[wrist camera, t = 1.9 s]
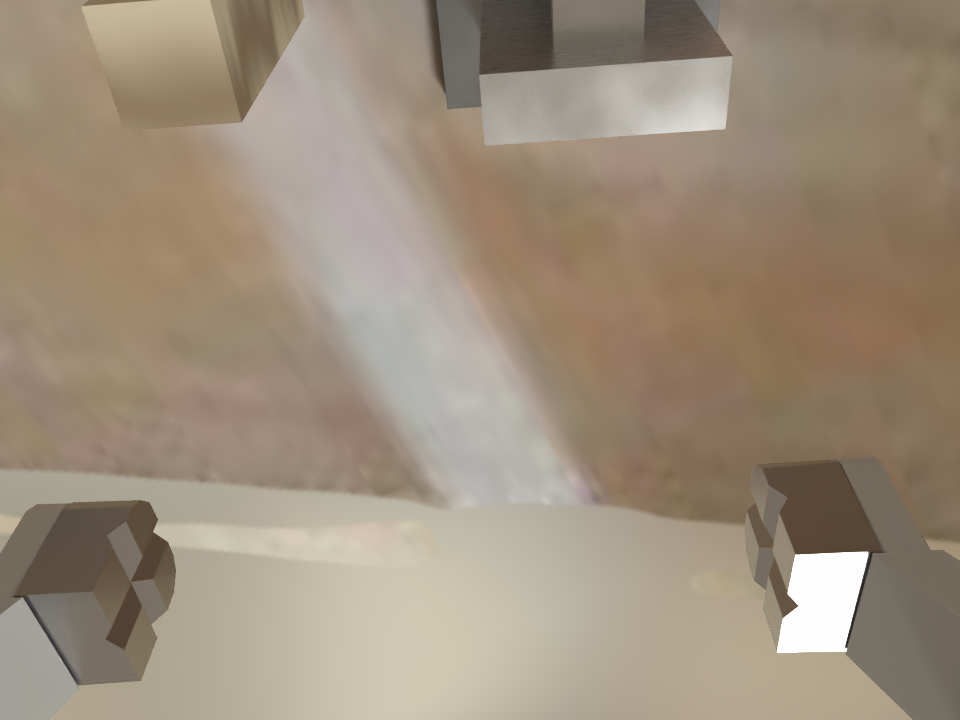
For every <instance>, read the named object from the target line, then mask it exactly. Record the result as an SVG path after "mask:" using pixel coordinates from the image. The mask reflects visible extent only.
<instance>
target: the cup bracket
mask: <svg viewBox="0 0 960 720" xmlns="http://www.w3.org/2000/svg"><path fill="white" fill-rule="evenodd" d="M436 5H437V14H438V24H439V33H440V43H441V52H442V62H443V72H444V81H445V91H446V100H447V109H454V108H468V107H482V118H483V131H484V143H485V145H500V144H514V143H529V142H543V141H558V140H572V139H587V138H601V137H616V136H630V135H645V134H659V133H674V132H688V131H703V130H717V129H725V126H726V117H727V107H728V97H729V87H730V78H731V68H732V58H733V56H732V54H731V53H730V51H729V50H728V48H727V47H726V45H725V44H724V43H723V41H722V40H721V38H720V37H719V35H718V34H717V30H718V19H719V8H720V0H436Z"/></svg>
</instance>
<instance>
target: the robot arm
mask: <svg viewBox="0 0 960 720" xmlns="http://www.w3.org/2000/svg"><path fill="white" fill-rule="evenodd" d="M750 488H751V490H752V493H753V496H754V499H755V503H754V504H753V505H752V506H751V507H750V508H749V509H748V510H747V514H746V524H745V538H746V551H747V555H748V560H749V565H750V568H751V572H752V575H753V578H754V581H755V582H757V583H758V584H759V585H760V586H761V587H763V588H764V589H765V590H766V593H765V600H764V607H763V610H764V613H765V616H766V619H767V622H768V625H769V628H770V631H771V634H772V637H773V640H774V643H775V646H776V649H777V652H809V651H810V652H813V651H846V655H847V656H848V657H849V658H850V659H851V660H852V661H853V662H854V663H855V664H856V665H857V666H858V667H859V668H860V669H861V670H862V671H863V672H864V673H865V674H867V675H868V676H869V677H870V678H871V679H872V680H873V681H874V682H875V683H876V684H877V685H878V686H879V687H880V688H881V689H882V690H883V691H884V692H885V693H886V694H887V695H888V696H889V697H890V698H891V699H892V700H893V701H894V702H895V703H896V704H897V705H899V706H900V708H901V709H902V710H904V711H905V712H906V713H907V714H908V715H909V716H910V717H911V718H912V719H913V720H960V561H959V560H958V559H956V558H954V557H953V556H951V555H950V554H948V553H947V552H945V551H944V550H930V548H929V547H928V545H927V543H926V541H925V539H924V537H923V536H922V534H921V532H920V530H919V529H918V527H917V525H916V523H915V521H914V520H913V518H912V516H911V514H910V513H909V511H908V509H907V507H906V505H905V504H904V502H903V500H902V498H901V497H900V495H899V493H898V491H897V489H896V488H895V486H894V484H893V482H892V481H891V479H890V477H889V475H888V473H887V472H886V470H885V468H884V466H883V465H882V463H881V461H880V460H878V459H877V458H875V457H874V456H869V457H855V458H841V459H834V460H815V461H800V462H785V463H770V464H756V465H755V467H754V469H753V472H752V477H751V484H750ZM157 521H158V519H157V517H156V515H155V513H154V511H153V509H152V507H151V505H150V503H149V502H145V501H141V500H134V501H106V502H105V501H104V502H74V503H70V504H37V505H35V506H34V507H32V508H31V509H29V510H28V511H26V513H25V514H24V516H23V517H22V519H21V521H20V522H19V524H18V525H17V527H16V529H15V530H14V532H13V534H12V535H11V537H10V538H9V540H8V542H7V544H6V545H5V547H4V548H3V550H2V551H1V553H0V720H50V719H51V717H52V716H54V714H55V713H56V712H57V711H58V710H59V709H60V708H61V707H62V706H63V705H64V704H65V703H66V702H67V701H68V700H69V699H70V698H71V697H72V696H73V695H74V693H75V692H76V691H77V690H78V689H79V687H78V686H77V685H90V684H104V683H116V682H131V681H141V679H142V676H143V674H144V671H145V669H146V666H147V663H148V661H149V658H150V655H151V653H152V650H153V648H154V645H155V642H156V640H157V637H156V634H155V632H154V630H153V628H152V625H151V624H152V623H153V622H155V621H156V620H157V619H158V618H159V617H160V616H161V615H162V614H164V613H165V612H166V611H167V610H168V607H169V604H170V602H171V598H172V596H173V593H174V585H175V573H176V569H175V563H174V557H173V553H172V551H171V548H170V546H169V544H168V542H167V541H165V540H164V539H162V538H161V537H159V536H158V535H157V534H155V533H154V532H153V530H154V528H155V526H156V523H157Z"/></svg>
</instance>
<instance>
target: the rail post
mask: <svg viewBox="0 0 960 720" xmlns="http://www.w3.org/2000/svg"><path fill="white" fill-rule="evenodd" d="M81 7H82V10H83V13H84V16H85V19H86V22H87V24H88V27H89V30H90V33H91V36H92V39H93V42H94V44H95V47H96V50H97V53H98V56H99V59H100V62H101V65H102V67H103V70H104V73H105V76H106V79H107V82H108V85H109V87H110V90H111V93H112V96H113V99H114V102H115V105H116V107H117V110H118V113H119V116H120V119H121V122H122V125H123V127H124V130H125V131H127V130H141V129H155V128H169V127H183V126H196V125H210V124H224V123H238V122H242V121H243V119H244V118H245V116H246V114H247V112H248V111H249V109H250V107H251V106H252V104H253V102H254V101H255V99H256V97H257V96H258V94H259V92H260V91H261V89H262V87H263V86H264V84H265V82H266V81H267V79H268V77H269V76H270V74H271V72H272V71H273V69H274V67H275V65H276V64H277V62H278V60H279V59H280V57H281V55H282V54H283V52H284V50H285V49H286V47H287V45H288V44H289V42H290V40H291V39H292V37H293V35H294V34H295V32H296V30H297V29H298V27H299V25H300V24H301V22H302V20H303V18H304V17H305V16H304V11H303V6H302V1H301V0H89V1H88V2H86V3H85V4H83V5H82V6H81Z"/></svg>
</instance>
